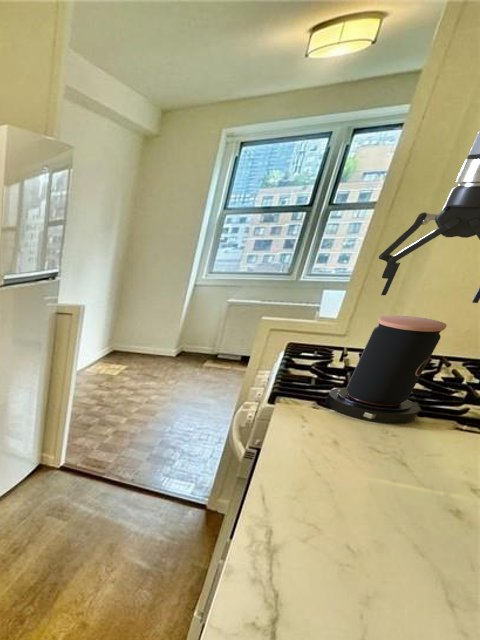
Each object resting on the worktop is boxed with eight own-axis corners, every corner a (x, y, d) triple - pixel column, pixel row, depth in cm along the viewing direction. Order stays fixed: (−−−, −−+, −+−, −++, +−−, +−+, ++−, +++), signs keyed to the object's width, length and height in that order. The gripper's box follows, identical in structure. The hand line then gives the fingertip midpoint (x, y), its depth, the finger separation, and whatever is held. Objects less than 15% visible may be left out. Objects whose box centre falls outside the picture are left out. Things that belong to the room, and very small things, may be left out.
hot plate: (433, 419, 110) (441, 406, 109) (378, 427, 107) (385, 415, 106) (358, 393, 124) (364, 382, 122) (308, 401, 121) (313, 389, 119)
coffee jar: (411, 409, 107) (454, 329, 99) (348, 400, 113) (384, 324, 104) (399, 393, 115) (438, 318, 107) (341, 386, 120) (374, 313, 112)
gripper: (391, 187, 99) (347, 294, 109) (592, 182, 82) (518, 308, 92) (395, 186, 103) (352, 289, 113) (586, 181, 87) (517, 302, 97)
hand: (427, 298), depth 103 cm, fingers open, 13 cm apart
